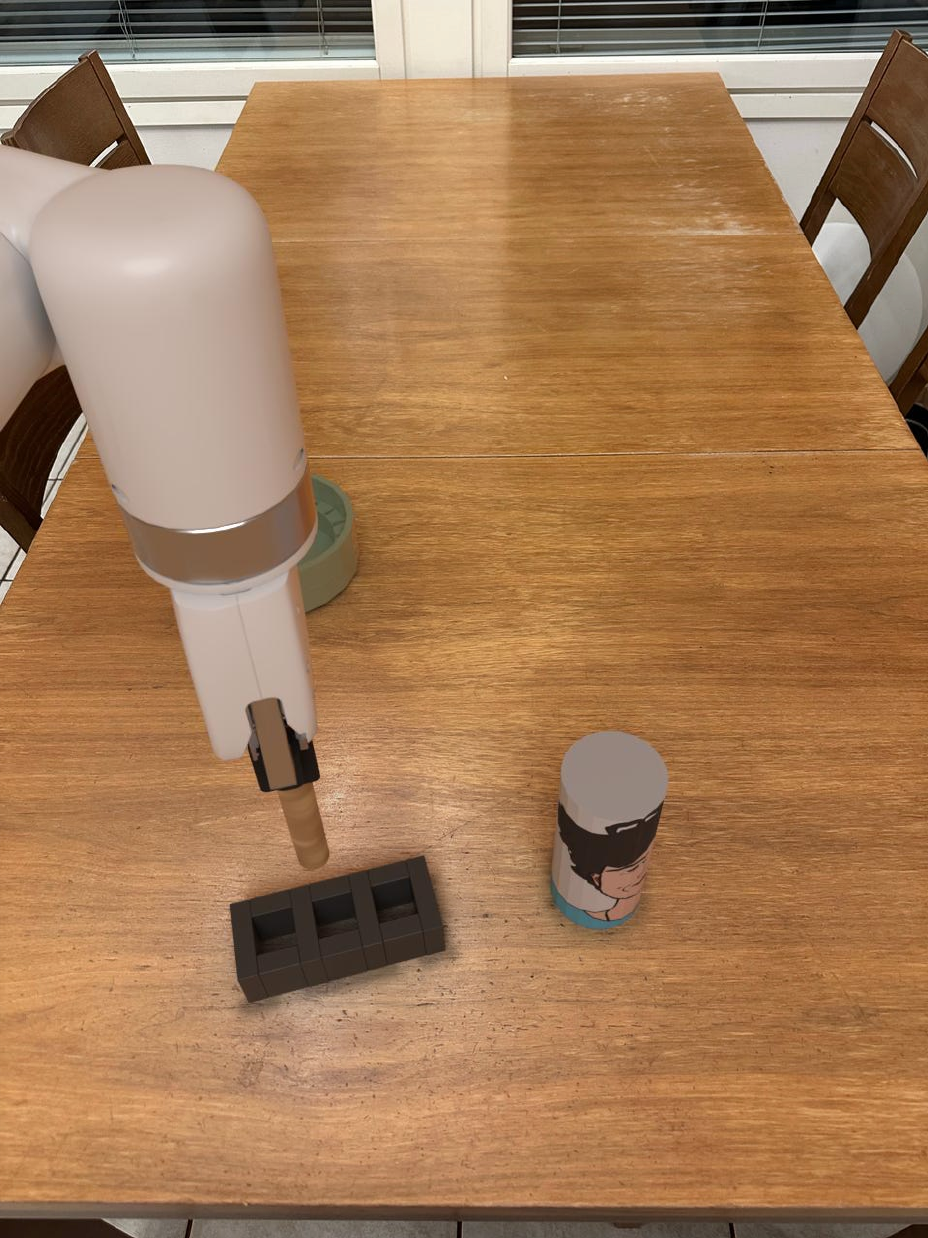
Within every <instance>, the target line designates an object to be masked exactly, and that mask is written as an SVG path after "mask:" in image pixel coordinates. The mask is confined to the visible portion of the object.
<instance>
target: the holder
mask: <svg viewBox="0 0 928 1238" xmlns="http://www.w3.org/2000/svg"><path fill="white" fill-rule="evenodd" d="M426 859H427V858H426V855H425V854H422V855H419V856H415V857H412V858H408V859H403V860H400V861H396V862H392V863H388V864H385V865H380V866H376V867H372V868H368V869H364V870H360V871H356V872H351V873H348V874H344V875H340V876H336V877H332V878H328V879H327V878H326V879H324V880H319V881H315V882H312V883H311V882H310V883H307V884H304V885H299V886H296V887H292V888H291V887H290V888H287V889H284V890H279V891H276V892H272V893H267V894H264V895H259V896H256V897H252V898H248V899H244V900H240V901H237V902H232V903H230V904H229V915H230V923H231V931H232V932H231V934H232V941H233V943H232V944H233V952H234V962H235V971H236V979H237V983H238V984H239V987H240V989H241V991H242V993H243V995H244V996H245V998H246V1000H247V1003H248V1004H252V1003H255V1002H259V1001H262V1000H267V999H269V998H273V997H277V996H281V995H284V994H288V993H291V992H295V991H299V990H304V989H306V988H311V987H315V986H319V985H322V984H326V983H329V982H332V981H337V980H341V979H344V978H348V977H352V976H355V975H361V974H363V973H366V972H367V973H368V972H370V971H374V970H377V969H382V968H385V967H388V966H391V965H396V964H400V963H403V962H407V961H411V960H414V959H418V958H423V957H425V956H430V955H435V954H437V953H438V954H439V953H441V952H446V942H445V933H444V932H445V931H444V924H443V920H442V916H441V913H440V909H439V905H438V901H437V897H436V893H435V890H434V887H433V883H432V879H431V874H430V871H429V866H428V863H427V860H426ZM411 903H413V907H414V911H415V913H414V914H411V915H408V916H403V917H400V918H396V919H392V920H388V921H383V922H379V917H378V913H377V912H381V911H384V910H388V909H391V908H395V907H399V906H403V905H408V904H411ZM353 918H356V922H357V927H358V928H356V929H353V930H349V931H345V932H342V933H338V934H333V935H330V936H326V937H322V932H321V927H322V926H327V925H331V924H335V923H338V922H342V921H346V920H351V919H353ZM292 934H296V935H295V936H296V944H297V945H293V946H288V947H284V948H281V949H277V950H273V951H270V952H269V951H268V952H265V953H264V949H263V942H266V941H269V940H273V939H276V938H277V939H278V938H281V937H285V936H288V935H292Z"/></svg>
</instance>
